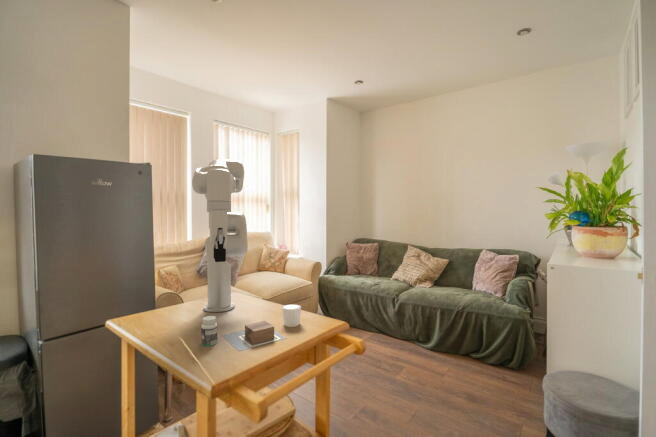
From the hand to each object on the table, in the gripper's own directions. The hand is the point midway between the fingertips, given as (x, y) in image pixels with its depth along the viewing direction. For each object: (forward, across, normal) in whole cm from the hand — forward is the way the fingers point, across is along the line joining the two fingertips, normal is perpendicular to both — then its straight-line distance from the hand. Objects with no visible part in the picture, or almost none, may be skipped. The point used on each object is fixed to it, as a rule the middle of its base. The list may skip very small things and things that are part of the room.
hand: (219, 260), depth 103 cm
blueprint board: (+26, +3, +10) cm, 28 cm away
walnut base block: (+25, +4, +12) cm, 28 cm away
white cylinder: (+26, -4, +25) cm, 36 cm away
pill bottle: (+26, +2, -3) cm, 26 cm away
